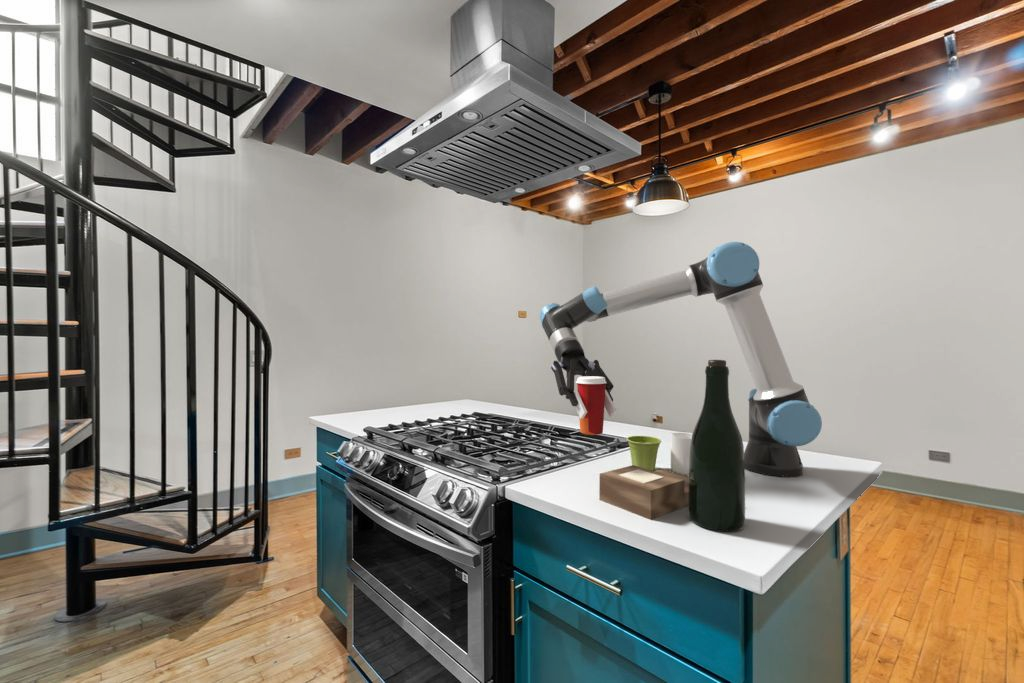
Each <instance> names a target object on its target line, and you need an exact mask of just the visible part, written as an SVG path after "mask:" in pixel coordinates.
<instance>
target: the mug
mask: <svg viewBox="0 0 1024 683" xmlns="http://www.w3.org/2000/svg"><path fill="white" fill-rule="evenodd" d="M692 433H693V432H686V431H684V432H683V431H679V432H676V431H675V432H671V434H670V469H671V472H675V473H678V474H682V475H687V476H689V458H690V443H691V438H692Z"/></svg>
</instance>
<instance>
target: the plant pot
mask: <svg viewBox="0 0 1024 683" xmlns="http://www.w3.org/2000/svg"><path fill="white" fill-rule="evenodd" d="M626 441H627V442H628V446H629V452H630V458H631V460H630V461H631V466H632V465H634V466H638V467H641V468H645V469H648V470H652V471H656V464H657V456H658V450H659V448H660V444H661V443H662V439H660V438H658V437H655V436H648V435H631V436H627V437H626Z"/></svg>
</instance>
